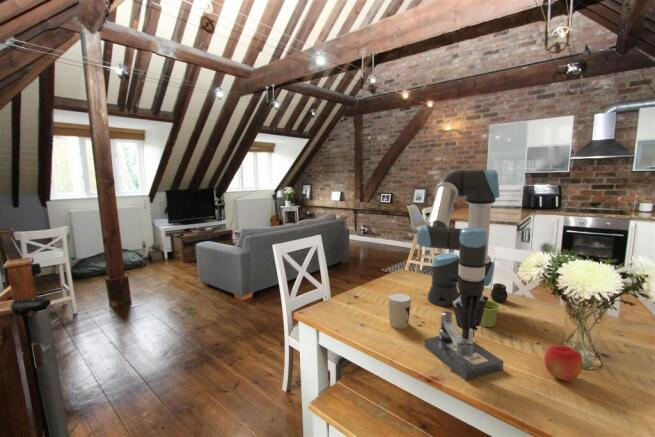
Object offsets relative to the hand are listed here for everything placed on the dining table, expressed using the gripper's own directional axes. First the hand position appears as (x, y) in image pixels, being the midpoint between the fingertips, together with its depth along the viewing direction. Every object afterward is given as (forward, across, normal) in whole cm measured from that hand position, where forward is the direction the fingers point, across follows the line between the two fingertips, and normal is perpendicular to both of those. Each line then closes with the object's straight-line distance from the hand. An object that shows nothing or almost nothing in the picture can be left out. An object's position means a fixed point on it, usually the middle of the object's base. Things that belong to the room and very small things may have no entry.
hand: (467, 347), depth 100 cm
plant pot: (+8, -29, -19) cm, 36 cm away
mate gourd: (+8, -54, -35) cm, 65 cm away
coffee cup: (+7, +5, -33) cm, 34 cm away
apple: (+8, -23, +14) cm, 28 cm away
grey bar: (+1, +1, -5) cm, 5 cm away
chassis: (+7, -2, -5) cm, 9 cm away
